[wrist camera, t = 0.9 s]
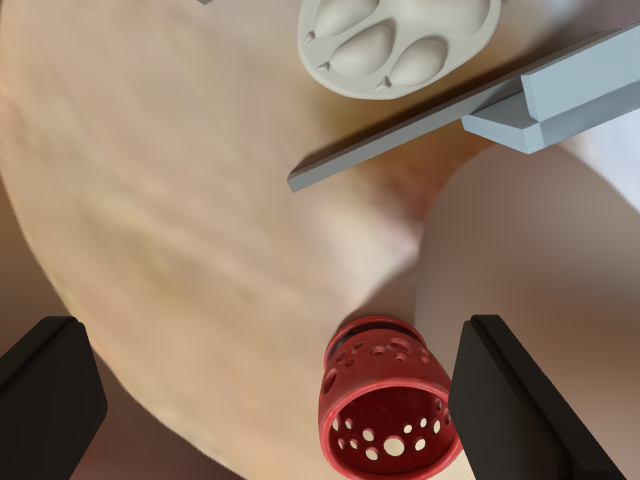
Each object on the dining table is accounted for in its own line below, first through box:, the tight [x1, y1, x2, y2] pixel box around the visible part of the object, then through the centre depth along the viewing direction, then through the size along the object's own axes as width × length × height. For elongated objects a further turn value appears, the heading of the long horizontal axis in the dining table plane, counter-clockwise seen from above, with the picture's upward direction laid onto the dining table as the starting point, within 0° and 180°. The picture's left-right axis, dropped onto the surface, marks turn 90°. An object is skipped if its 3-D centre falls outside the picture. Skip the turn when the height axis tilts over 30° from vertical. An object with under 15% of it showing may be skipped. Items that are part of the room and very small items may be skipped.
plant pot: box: [318, 316, 463, 480], centre depth 38 cm, size 13×13×12 cm
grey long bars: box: [197, 0, 622, 193], centre depth 29 cm, size 28×17×2 cm, turn 115°
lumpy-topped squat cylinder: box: [297, 0, 502, 100], centre depth 27 cm, size 10×13×9 cm
